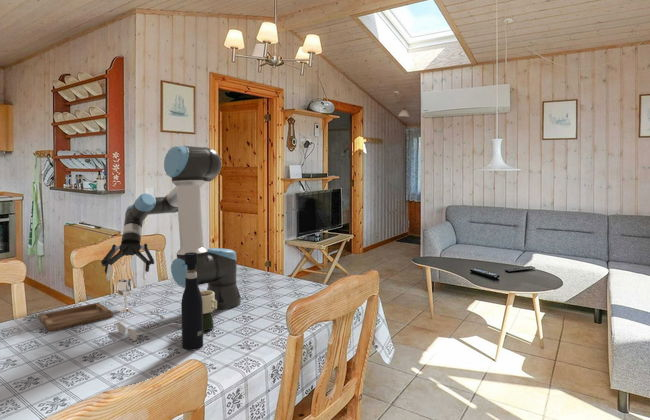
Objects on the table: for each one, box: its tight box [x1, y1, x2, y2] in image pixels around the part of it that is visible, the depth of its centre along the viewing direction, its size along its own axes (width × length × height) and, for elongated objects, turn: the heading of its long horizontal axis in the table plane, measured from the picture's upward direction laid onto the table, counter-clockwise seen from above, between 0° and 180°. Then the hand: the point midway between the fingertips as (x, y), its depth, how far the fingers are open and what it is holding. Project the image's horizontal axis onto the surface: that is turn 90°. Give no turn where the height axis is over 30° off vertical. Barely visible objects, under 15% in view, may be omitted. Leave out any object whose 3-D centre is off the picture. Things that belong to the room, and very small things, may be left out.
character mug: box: [200, 290, 218, 332], centre depth 148 cm, size 11×7×13 cm, turn 66°
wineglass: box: [116, 278, 134, 313], centre depth 167 cm, size 6×6×12 cm
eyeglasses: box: [115, 313, 182, 342], centre depth 148 cm, size 15×18×4 cm
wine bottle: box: [180, 252, 204, 351], centre depth 133 cm, size 6×6×30 cm
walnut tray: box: [39, 302, 113, 333], centre depth 156 cm, size 14×20×2 cm
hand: (126, 279), depth 172 cm, fingers open, 13 cm apart
